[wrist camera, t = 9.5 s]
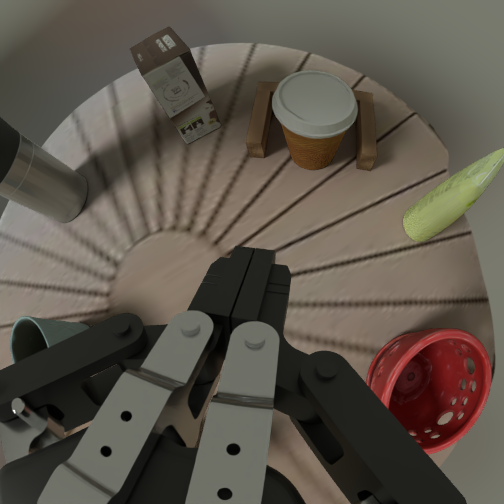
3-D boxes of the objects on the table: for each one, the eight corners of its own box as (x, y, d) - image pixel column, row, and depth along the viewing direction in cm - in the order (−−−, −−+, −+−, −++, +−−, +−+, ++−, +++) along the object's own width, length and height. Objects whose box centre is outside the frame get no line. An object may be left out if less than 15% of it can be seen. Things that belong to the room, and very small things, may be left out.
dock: (250, 157, 39) (245, 142, 35) (261, 98, 41) (258, 81, 37) (370, 170, 36) (376, 156, 32) (367, 109, 38) (372, 93, 34)
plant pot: (448, 323, 31) (500, 325, 19) (434, 414, 28) (476, 444, 17) (361, 323, 33) (393, 330, 21) (348, 421, 30) (368, 465, 19)
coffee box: (223, 126, 41) (191, 50, 25) (186, 146, 41) (140, 77, 26) (202, 93, 43) (170, 24, 28) (169, 111, 43) (127, 47, 28)
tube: (431, 250, 33) (523, 201, 14) (399, 242, 34) (481, 182, 15) (433, 211, 34) (513, 142, 15) (402, 203, 35) (471, 122, 16)
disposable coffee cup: (270, 133, 40) (260, 76, 28) (330, 119, 39) (337, 62, 27) (289, 188, 37) (286, 138, 26) (355, 172, 37) (374, 120, 25)
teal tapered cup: (64, 313, 39) (10, 309, 27) (108, 324, 38) (52, 325, 26) (62, 370, 37) (11, 378, 26) (106, 388, 36) (53, 405, 24)
